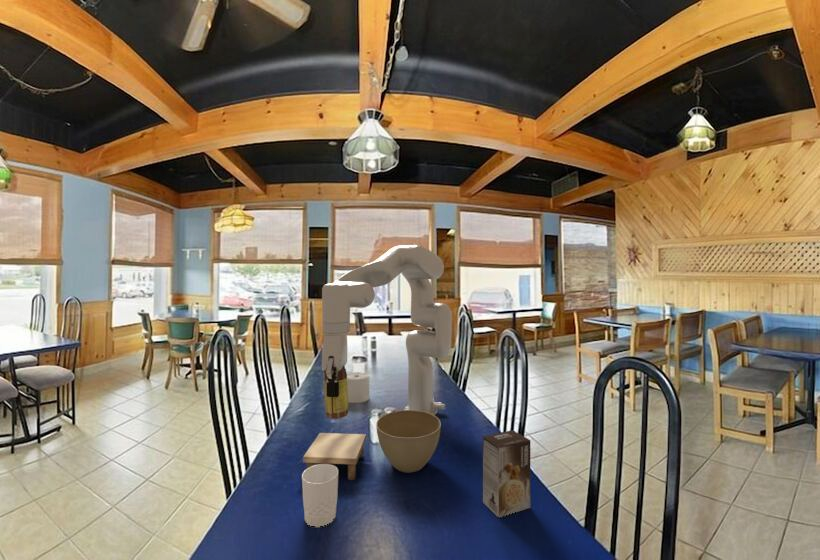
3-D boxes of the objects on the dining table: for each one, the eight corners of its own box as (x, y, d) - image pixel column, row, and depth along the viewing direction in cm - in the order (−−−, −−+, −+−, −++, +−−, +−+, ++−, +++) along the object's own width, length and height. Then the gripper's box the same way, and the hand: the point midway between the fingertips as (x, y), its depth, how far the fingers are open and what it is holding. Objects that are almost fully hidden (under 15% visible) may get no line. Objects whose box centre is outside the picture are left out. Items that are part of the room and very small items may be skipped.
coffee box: (512, 493, 90) (513, 428, 90) (531, 508, 85) (532, 440, 84) (481, 502, 87) (482, 435, 86) (498, 519, 81) (499, 447, 80)
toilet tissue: (373, 400, 154) (373, 376, 153) (347, 406, 147) (347, 381, 147) (362, 393, 163) (362, 370, 162) (336, 398, 156) (336, 375, 156)
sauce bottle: (351, 412, 104) (351, 342, 104) (343, 420, 98) (343, 347, 98) (330, 410, 106) (329, 341, 105) (320, 418, 100) (320, 346, 99)
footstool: (366, 454, 109) (366, 434, 109) (356, 481, 95) (356, 458, 95) (319, 452, 110) (319, 432, 110) (303, 479, 96) (303, 456, 96)
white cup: (306, 506, 85) (305, 464, 85) (340, 504, 86) (340, 462, 85) (298, 530, 77) (298, 484, 77) (336, 528, 78) (336, 482, 78)
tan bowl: (368, 456, 108) (368, 415, 108) (423, 444, 115) (423, 406, 115) (389, 490, 91) (389, 442, 91) (452, 474, 99) (452, 429, 98)
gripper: (331, 323, 110) (331, 382, 111) (312, 333, 93) (312, 403, 93) (356, 323, 110) (356, 383, 110) (341, 333, 92) (341, 404, 93)
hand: (336, 391), depth 102 cm, fingers closed on sauce bottle, 6 cm apart
